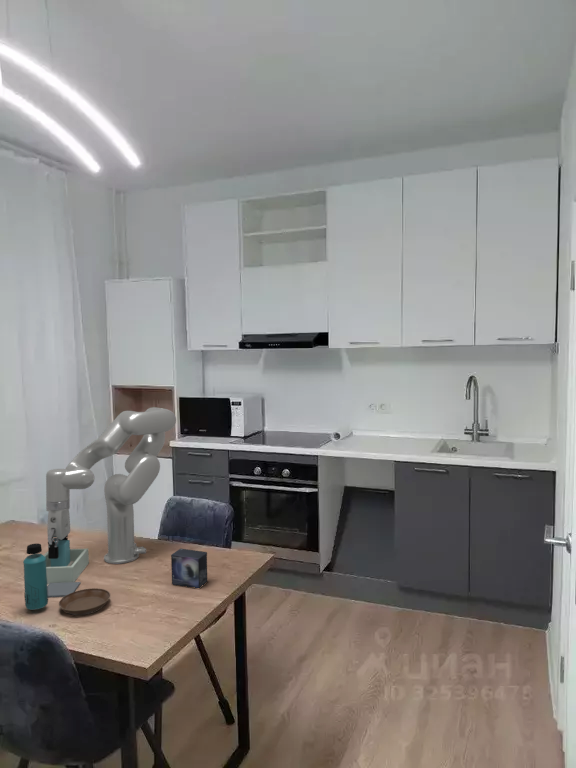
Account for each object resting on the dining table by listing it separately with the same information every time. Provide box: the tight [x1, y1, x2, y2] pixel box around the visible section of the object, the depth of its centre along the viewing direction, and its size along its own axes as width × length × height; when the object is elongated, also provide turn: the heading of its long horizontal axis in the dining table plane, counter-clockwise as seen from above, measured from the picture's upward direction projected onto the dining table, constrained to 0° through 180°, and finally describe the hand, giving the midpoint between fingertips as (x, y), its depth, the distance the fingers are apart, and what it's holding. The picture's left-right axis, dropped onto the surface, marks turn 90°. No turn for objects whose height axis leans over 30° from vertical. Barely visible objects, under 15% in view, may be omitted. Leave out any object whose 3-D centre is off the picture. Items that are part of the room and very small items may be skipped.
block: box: [51, 539, 71, 567], centre depth 195 cm, size 5×5×8 cm
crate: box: [43, 548, 90, 585], centre depth 195 cm, size 14×18×6 cm
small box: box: [170, 548, 208, 589], centre depth 186 cm, size 11×6×10 cm, turn 70°
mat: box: [47, 581, 82, 599], centre depth 181 cm, size 10×10×1 cm
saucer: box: [58, 587, 111, 616], centre depth 170 cm, size 15×15×3 cm
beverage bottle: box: [22, 542, 49, 611], centre depth 167 cm, size 6×7×20 cm
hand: (58, 553), depth 195 cm, fingers open, 9 cm apart
